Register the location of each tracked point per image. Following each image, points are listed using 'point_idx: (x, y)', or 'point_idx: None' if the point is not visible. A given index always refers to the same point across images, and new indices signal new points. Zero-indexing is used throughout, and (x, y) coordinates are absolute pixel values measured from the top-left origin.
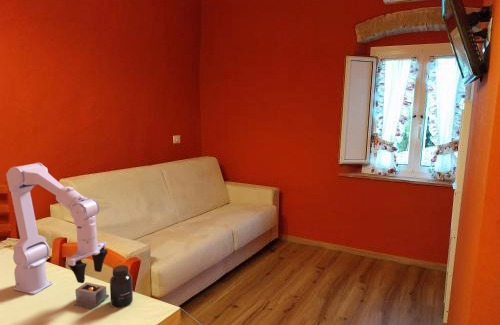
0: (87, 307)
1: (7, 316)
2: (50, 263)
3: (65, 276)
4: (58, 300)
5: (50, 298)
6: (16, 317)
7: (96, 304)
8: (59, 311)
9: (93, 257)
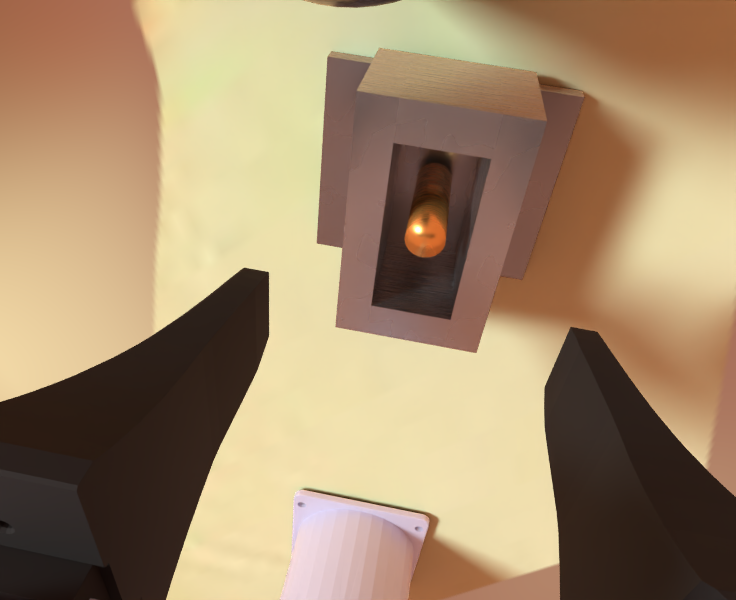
0: (568, 142)
1: None
2: None
3: None
4: (465, 389)
5: (450, 435)
6: None
7: (534, 74)
8: (607, 322)
9: (188, 511)
